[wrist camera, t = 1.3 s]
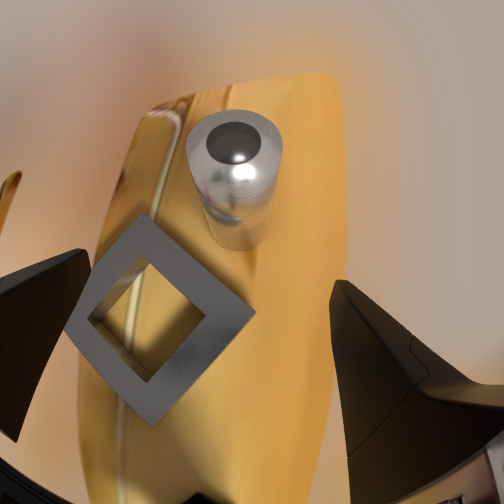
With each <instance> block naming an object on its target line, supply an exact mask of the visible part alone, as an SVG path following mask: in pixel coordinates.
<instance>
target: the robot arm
mask: <svg viewBox="0 0 504 504" xmlns="http://www.w3.org/2000/svg"><path fill="white" fill-rule="evenodd" d="M90 274H91V266H90V261H89V257H88V252H87V251H86V250H85V249H79V248H77V249H74V250H71V251H68V252H65V253H63V254H60V255H57V256H55V257H52V258H49V259H47V260H44V261H41V262H39V263H36V264H33V265H31V266H28V267H26V268H23V269H21V270H18V271H16V272H14V273H11V274H8V275H6V276H5V277H1V278H0V432H1V433H3V434H4V435H5V436H6V437H8V438H9V439H11V440H12V441H13V442H15V443H16V442H17V441H18V438H19V434H20V431H21V429H22V425H23V423H24V420H25V417H26V414H27V411H28V408H29V406H30V403H31V400H32V398H33V394H34V392H35V390H36V387H37V385H38V383H39V380H40V378H41V376H42V373H43V371H44V369H45V366H46V364H47V362H48V360H49V358H50V356H51V353H52V351H53V349H54V347H55V345H56V343H57V341H58V339H59V337H60V335H61V333H62V331H63V329H64V327H65V325H66V324H67V322H68V320H69V318H70V316H71V314H72V312H73V311H74V309H75V307H76V305H77V303H78V301H79V298H80V296H81V294H82V292H83V289H84V287H85V285H86V283H87V281H88V279H89V277H90ZM329 312H330V328H331V344H332V350H333V356H334V362H335V368H336V374H337V381H338V388H339V393H340V401H341V408H342V416H343V424H344V432H345V441H346V450H347V457H348V458H347V461H348V473H349V486H350V500H351V504H504V385H485V384H480V383H477V382H474V381H472V380H470V379H469V378H467V377H466V376H465V375H464V374H462V373H461V372H460V371H458V370H457V369H456V368H454V367H453V366H452V365H450V364H449V363H448V362H446V361H445V360H444V359H442V358H441V357H440V356H439V355H437V354H436V353H435V352H433V351H432V350H431V349H430V348H428V347H427V346H426V345H425V344H424V343H422V342H421V341H420V340H419V339H418V338H416V337H415V336H414V335H412V333H410V331H408V330H407V329H406V328H405V327H404V326H403V325H401V324H400V323H399V322H398V321H397V320H395V319H394V318H393V317H392V316H390V315H389V314H388V313H387V312H386V311H385V310H383V309H382V308H381V307H380V306H379V305H377V304H376V303H375V302H374V301H373V300H371V299H370V298H369V297H368V296H367V295H365V294H364V293H363V292H362V291H360V290H359V289H358V288H357V287H355V286H354V285H353V284H352V283H350V282H349V281H348V280H336V281H335V284H334V287H333V290H332V294H331V297H330V301H329ZM197 496H199V497H200V498H197ZM0 504H73V503H71V502H69V501H67V500H65V499H64V498H61V497H60V496H58V495H56V494H54V493H53V492H51V491H49V490H48V489H46V488H44V487H43V486H41V485H39V484H38V483H36V482H35V481H33V480H31V479H30V478H28V477H27V476H25V475H24V474H22V473H21V472H20V471H18V470H17V469H15V468H14V467H13V466H11V465H10V464H8V463H7V462H6V461H5V460H3V459H2V458H1V457H0ZM181 504H220V503H217V502H215V501H213V500H212V499H210V498H208V497H207V496H205V495H204V494H202V493H199V492H196V493H194V494H193V495H191V496H190V497H189V498H188V499H186V500H185V501H184V502H182V503H181Z"/></svg>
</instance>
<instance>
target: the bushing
mask: <svg viewBox="0 0 504 504" xmlns="http://www.w3.org/2000/svg"><path fill="white" fill-rule="evenodd" d="M282 150H283V143H282V138H281V135H280V133H279V131H278V129H277V128H276V126H275V125H274V124H273V123H272V122H271V121H269V120H268V119H267V118H265V117H263V116H262V115H260V114H257V113H254V112H251V111H246V110H225V111H221V112H217V113H214V114H212V115H210V116H208V117H206V118H204V119H203V120H201V121H200V122H199V123H198V124H197V125H196V126H195V127H194V128H193V129H192V131H191V132H190V134H189V136H188V138H187V141H186V146H185V152H186V157H187V160H188V164H189V167H190V170H191V173H192V176H193V179H194V182H195V185H196V189H197V192H198V195H199V198H200V201H201V204H202V207H203V210H204V213H205V216H206V219H207V222H208V225H209V228H210V231H211V233H212V236H213V238H214V239H215V240H216V242H217V243H218V244H220V245H221V246H222V247H224V248H226V249H229V250H233V251H245V250H248V249H251V248H253V247H255V246H256V245H258V244H259V243H260V242H261V241H262V240H263V238H264V237H265V235H266V232H267V229H268V224H269V219H270V214H271V208H272V203H273V198H274V193H275V187H276V182H277V177H278V171H279V166H280V161H281V155H282Z"/></svg>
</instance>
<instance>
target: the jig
mask: <svg viewBox="0 0 504 504" xmlns="http://www.w3.org/2000/svg"><path fill="white" fill-rule="evenodd" d="M149 263H151V264H152V265H153V266H154V267H155V268H156V269H157V270H158V271H159V272H160V273H161V274H162V275H163V276H164V277H165V278H166V279H167V280H168V281H169V282H170V283H171V284H172V285H173V286H174V287H176V288H177V289H178V290H179V291H180V292H181V293H182V294H183V295H184V296H185V297H186V298H187V299H189V300H190V301H191V302H192V303H193V304H194V305H195V306H196V307H197V308H198V309H200V310H201V311H202V312H203V313H204V314H205V315H206V317H205V318H204V319H203V320H202V321H201V322H200V323H199V325H198V326H197V327H196V328H195V329H194V330H193V331H192V332H191V334H190V335H189V336H188V337H187V338H186V339H185V340H184V342H183V343H182V344H181V345H180V346H179V347H178V348H177V349H176V351H175V352H174V353H173V354H172V355H171V356H170V357H169V359H168V360H167V361H166V362H165V363H164V364H163V365H162V366H161V368H160V369H159V370H158V371H157V372H156V373H155V374H154V375H152V374H150V373H149V372H148V371H147V370H146V369H145V368H144V367H143V366H142V365H141V364H140V363H139V362H138V361H137V360H136V359H135V358H134V357H133V356H132V354H131V353H130V352H129V351H128V350H127V349H126V348H125V347H124V346H123V345H122V344H121V343H120V342H119V341H118V340H117V338H116V337H115V336H114V335H113V334H112V333H111V332H110V331H109V329H108V328H107V327H106V326H105V325H104V324H103V322H102V321H101V320H102V319H103V317H104V316H105V315H106V314H107V312H108V311H109V310H110V309H111V308H112V306H113V305H114V304H115V303H116V301H117V300H118V299H119V298H120V297H121V296H122V294H123V293H124V292H125V291H126V290H127V288H128V287H129V286H130V285H131V284H132V283H133V281H134V280H135V279H136V278H137V277H138V276H139V274H140V273H141V272H142V271H143V270H144V269H145V268H146V267H147V265H148V264H149ZM255 314H256V311H255V310H254V309H252V308H251V307H250V306H249V305H247V304H246V303H245V302H244V301H243V300H242V299H240V298H239V297H238V296H237V295H236V294H234V293H233V292H232V291H231V290H230V289H228V288H227V287H226V286H225V285H224V284H223V283H221V282H220V281H219V280H218V279H217V278H216V277H214V276H213V275H212V274H211V273H210V272H209V271H208V270H206V269H205V268H204V267H203V266H202V265H201V264H200V263H198V262H197V261H196V260H195V259H194V258H193V257H192V256H190V255H189V254H188V253H187V252H186V251H185V250H184V249H183V248H181V247H180V246H179V245H178V244H177V243H176V242H175V241H174V240H173V239H171V238H170V237H169V236H168V235H167V234H166V233H165V232H164V231H163V230H162V229H160V228H159V227H158V226H157V225H156V224H155V223H154V222H153V221H152V220H151V219H150V218H149V217H147V216H146V215H145V214H144V213H143V212H142V213H141V214H140V215H139V216H138V217H137V218H136V219H135V221H134V222H133V223H132V224H131V225H130V226H129V227H128V228H127V229H126V230H125V231H124V233H123V234H122V235H121V236H120V237H119V238H118V239H117V240H116V241H115V243H114V244H113V245H112V246H111V247H110V248H109V250H108V251H107V252H106V253H105V254H104V255H103V257H102V258H101V259H100V260H99V261H98V262H97V264H96V265H95V266H94V267H93V269H92V270H91V274H90V277H89V279H88V281H87V283H86V285H85V287H84V289H83V292H82V294H81V296H80V298H79V301H78V303H77V305H76V307H75V309H74V311H73V312H72V314H71V316H70V318H69V320H68V322H67V324H66V325H65V327H64V329H63V330H64V331H65V332H66V333H67V335H68V336H69V338H70V339H71V340H72V342H73V343H74V344H75V346H76V347H77V348H78V349H79V351H80V352H81V353H82V354H83V356H84V357H85V358H86V359H87V361H88V362H89V363H90V364H91V365H92V367H93V368H94V369H95V370H96V371H97V372H98V373H99V375H100V376H101V377H102V378H103V379H104V380H105V381H106V382H107V383H108V385H109V386H110V387H111V388H112V389H113V390H114V391H115V392H116V393H117V394H118V395H119V396H120V397H121V398H122V399H123V400H124V401H125V402H126V403H127V404H128V405H129V406H130V407H131V408H132V409H133V410H134V411H135V412H136V413H137V414H138V415H139V416H140V417H141V418H143V419H144V420H145V421H146V422H147V423H148V424H149V425H150V426H151V427H153V426H154V425H155V424H156V423H157V422H158V421H159V420H160V419H161V418H162V417H163V416H164V415H165V414H166V413H167V412H168V411H169V410H170V409H171V408H172V407H173V406H174V405H175V404H176V403H177V401H178V400H179V399H180V398H181V397H182V396H183V395H184V394H185V393H186V392H187V391H188V390H189V389H190V388H191V386H192V385H193V384H194V383H195V382H196V381H197V380H198V379H199V378H200V377H201V375H202V374H203V373H204V372H205V371H206V370H207V369H208V368H209V367H210V366H211V364H212V363H213V362H214V361H215V360H216V359H217V358H218V357H219V355H220V354H221V353H222V352H223V351H224V350H225V349H226V348H227V346H228V345H229V344H230V343H231V342H232V341H233V340H234V338H235V337H236V336H237V335H238V334H239V333H240V331H241V330H242V329H243V328H244V327H245V326H246V325H247V323H248V322H249V321H250V320H251V319H252V317H253V316H254V315H255Z"/></svg>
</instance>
